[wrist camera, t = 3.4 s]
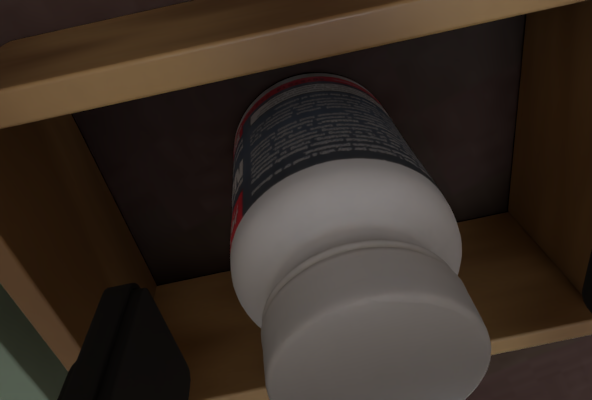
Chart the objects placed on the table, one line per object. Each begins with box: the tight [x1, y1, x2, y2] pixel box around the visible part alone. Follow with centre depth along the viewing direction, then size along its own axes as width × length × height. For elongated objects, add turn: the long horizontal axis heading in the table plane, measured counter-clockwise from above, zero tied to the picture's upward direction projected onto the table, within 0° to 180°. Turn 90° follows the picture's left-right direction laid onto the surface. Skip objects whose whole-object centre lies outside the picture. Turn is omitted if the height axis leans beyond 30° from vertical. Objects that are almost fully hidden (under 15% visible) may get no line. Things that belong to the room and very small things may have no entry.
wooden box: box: [0, 0, 592, 400], centre depth 13 cm, size 15×10×6 cm
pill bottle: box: [230, 73, 491, 400], centre depth 11 cm, size 5×5×9 cm
